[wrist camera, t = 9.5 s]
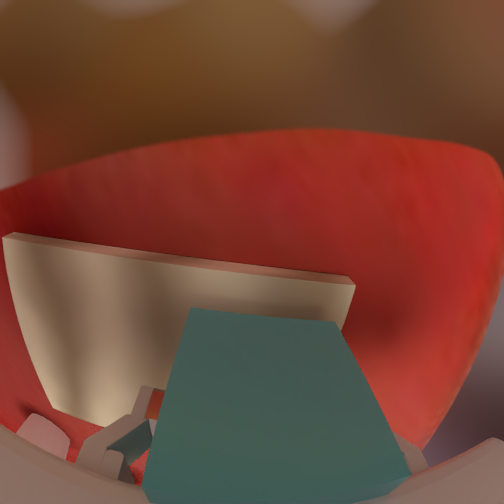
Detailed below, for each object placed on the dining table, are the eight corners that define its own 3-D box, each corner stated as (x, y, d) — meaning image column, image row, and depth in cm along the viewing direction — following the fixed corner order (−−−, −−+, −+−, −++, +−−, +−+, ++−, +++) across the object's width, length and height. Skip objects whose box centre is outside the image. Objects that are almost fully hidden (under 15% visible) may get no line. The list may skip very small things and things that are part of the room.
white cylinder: (25, 421, 19) (4, 458, 12) (26, 400, 17) (-1, 445, 11) (70, 452, 20) (54, 493, 14) (79, 438, 19) (60, 487, 12)
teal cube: (188, 403, 13) (168, 533, 5) (190, 307, 11) (141, 486, 4) (301, 411, 13) (327, 533, 6) (335, 321, 11) (412, 474, 4)
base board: (58, 399, 17) (52, 407, 16) (13, 231, 12) (2, 237, 11) (286, 440, 18) (288, 452, 17) (347, 275, 14) (355, 285, 13)
